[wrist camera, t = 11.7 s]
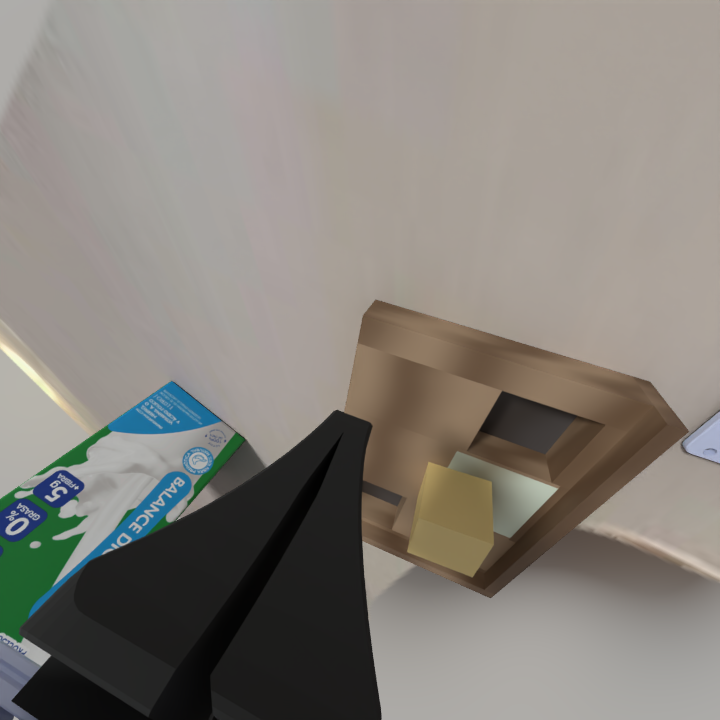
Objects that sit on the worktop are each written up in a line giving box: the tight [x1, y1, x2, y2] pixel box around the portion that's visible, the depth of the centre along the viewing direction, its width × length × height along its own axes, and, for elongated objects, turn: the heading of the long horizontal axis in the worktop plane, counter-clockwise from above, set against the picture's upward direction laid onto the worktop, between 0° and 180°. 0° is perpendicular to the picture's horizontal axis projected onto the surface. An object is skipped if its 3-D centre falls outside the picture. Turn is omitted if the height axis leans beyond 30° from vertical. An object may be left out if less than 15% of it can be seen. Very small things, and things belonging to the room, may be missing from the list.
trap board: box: [344, 300, 689, 598], centre depth 21 cm, size 16×20×4 cm
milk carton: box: [0, 381, 245, 666], centre depth 22 cm, size 9×9×25 cm
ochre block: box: [407, 462, 494, 577], centre depth 19 cm, size 4×4×4 cm
